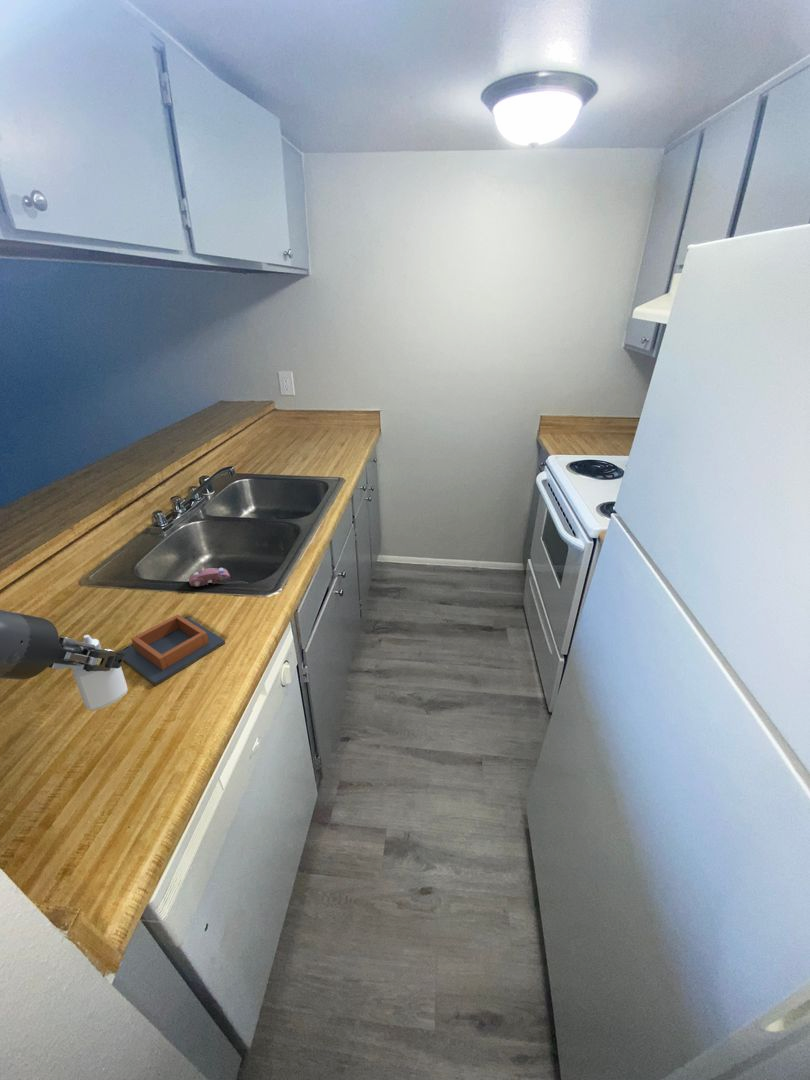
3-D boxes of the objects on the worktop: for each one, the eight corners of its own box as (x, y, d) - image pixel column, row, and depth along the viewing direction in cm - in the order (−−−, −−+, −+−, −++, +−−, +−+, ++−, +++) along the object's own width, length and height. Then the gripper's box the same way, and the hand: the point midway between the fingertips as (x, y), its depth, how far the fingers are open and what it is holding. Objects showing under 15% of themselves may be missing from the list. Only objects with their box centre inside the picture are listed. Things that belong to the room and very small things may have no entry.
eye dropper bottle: (126, 704, 71) (107, 641, 65) (83, 714, 69) (59, 650, 63) (129, 684, 74) (111, 623, 69) (88, 693, 72) (66, 630, 67)
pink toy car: (191, 596, 121) (187, 581, 116) (189, 581, 123) (185, 566, 118) (231, 588, 125) (230, 574, 119) (229, 574, 127) (227, 559, 122)
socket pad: (155, 686, 91) (151, 670, 89) (117, 656, 98) (112, 641, 96) (225, 643, 103) (222, 628, 101) (187, 619, 110) (184, 605, 108)
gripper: (61, 623, 54) (157, 641, 70) (-35, 600, 57) (79, 623, 73) (32, 691, 52) (138, 693, 68) (-66, 663, 55) (58, 672, 71)
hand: (107, 657), depth 70 cm, fingers closed on eye dropper bottle, 4 cm apart
